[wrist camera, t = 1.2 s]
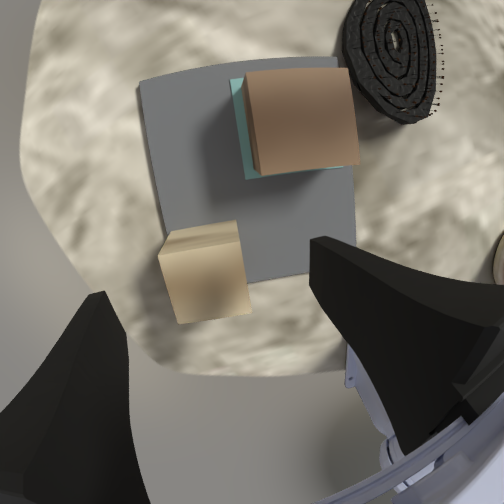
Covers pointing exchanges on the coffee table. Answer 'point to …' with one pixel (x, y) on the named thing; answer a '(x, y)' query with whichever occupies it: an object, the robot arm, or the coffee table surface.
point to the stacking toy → (499, 264)
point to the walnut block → (300, 119)
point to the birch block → (205, 272)
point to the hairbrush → (392, 57)
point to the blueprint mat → (239, 170)
